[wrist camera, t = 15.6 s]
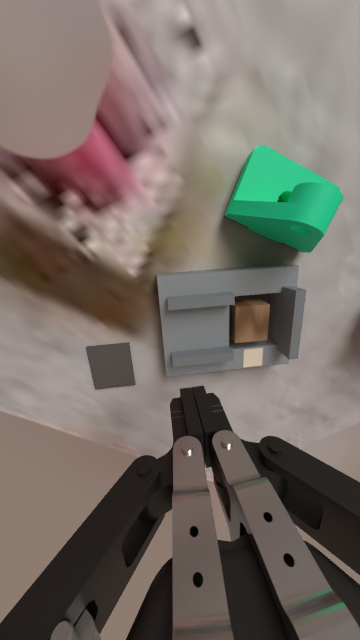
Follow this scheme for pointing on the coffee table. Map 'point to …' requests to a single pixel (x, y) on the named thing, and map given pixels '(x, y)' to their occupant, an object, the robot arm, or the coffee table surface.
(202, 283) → the rail board
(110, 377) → the mat
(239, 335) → the block
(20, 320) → the coffee table surface
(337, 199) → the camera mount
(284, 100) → the coffee table surface
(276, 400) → the coffee table surface
